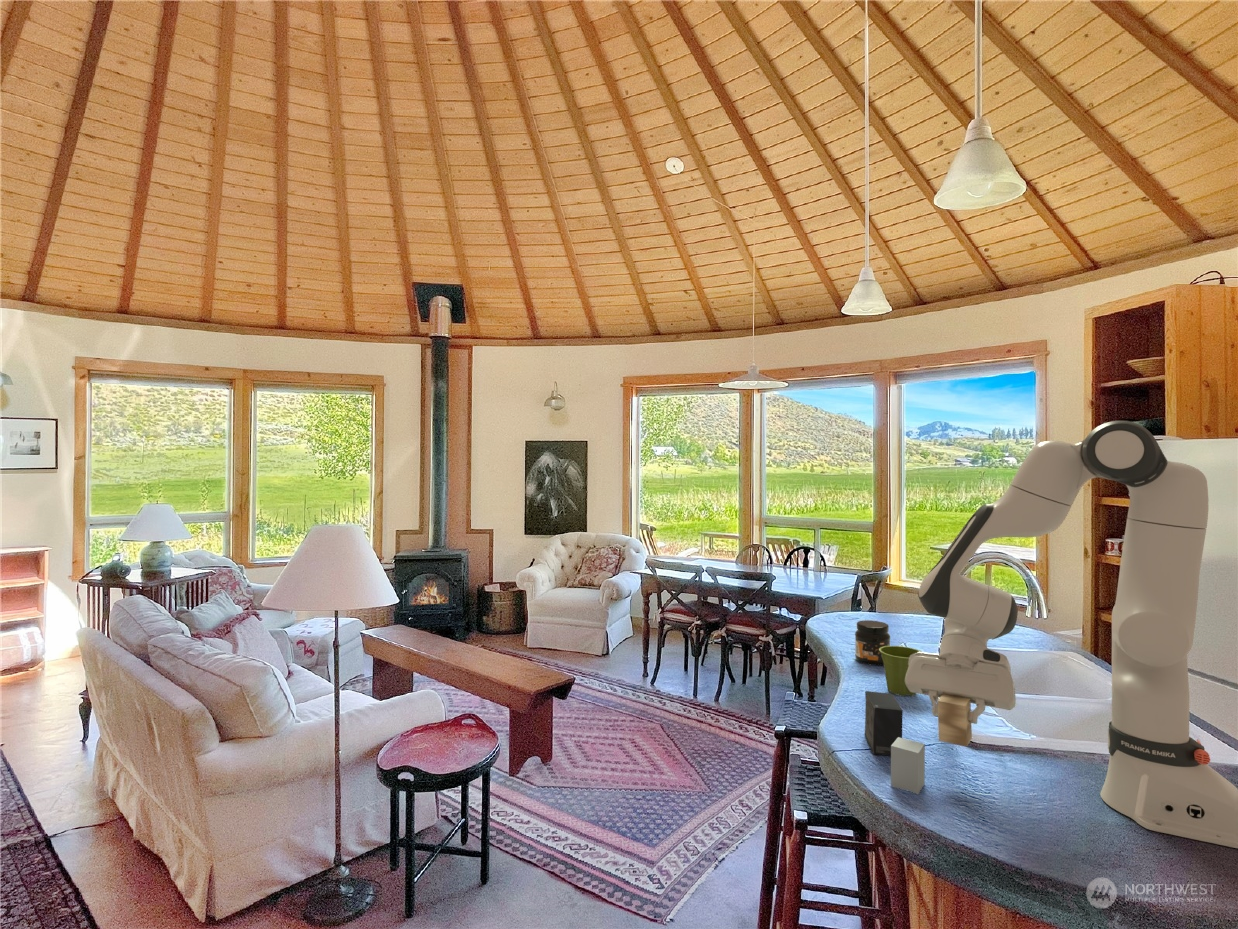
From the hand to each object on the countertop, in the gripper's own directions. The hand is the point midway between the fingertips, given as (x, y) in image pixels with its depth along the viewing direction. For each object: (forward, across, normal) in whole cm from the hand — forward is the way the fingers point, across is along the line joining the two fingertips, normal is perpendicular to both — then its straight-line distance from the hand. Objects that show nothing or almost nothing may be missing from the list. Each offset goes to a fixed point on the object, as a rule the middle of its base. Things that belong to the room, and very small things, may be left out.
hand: (954, 718), depth 128 cm
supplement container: (-40, -37, +56) cm, 78 cm away
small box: (+4, -16, +13) cm, 21 cm away
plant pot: (-23, -22, +40) cm, 51 cm away
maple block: (+3, 0, +4) cm, 4 cm away
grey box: (+14, -7, +3) cm, 16 cm away
